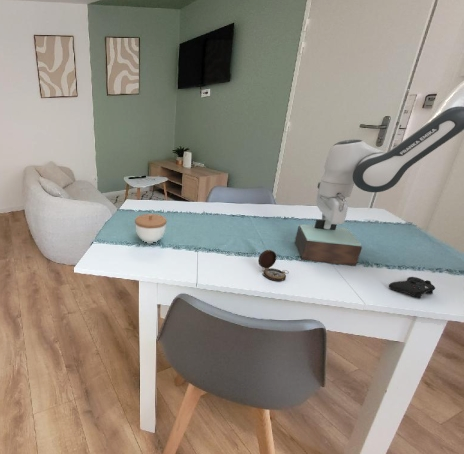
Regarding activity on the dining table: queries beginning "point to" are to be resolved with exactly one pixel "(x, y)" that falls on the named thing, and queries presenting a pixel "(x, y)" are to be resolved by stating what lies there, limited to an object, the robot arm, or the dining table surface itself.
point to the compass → (266, 262)
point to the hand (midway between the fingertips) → (325, 226)
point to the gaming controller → (413, 286)
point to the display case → (326, 251)
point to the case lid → (329, 234)
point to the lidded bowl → (150, 227)
